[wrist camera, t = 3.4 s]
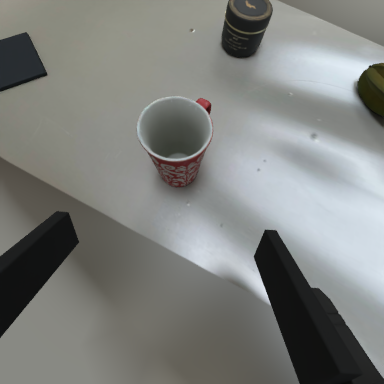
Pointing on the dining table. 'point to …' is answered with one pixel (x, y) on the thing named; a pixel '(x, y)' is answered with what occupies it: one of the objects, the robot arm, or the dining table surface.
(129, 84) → the dining table surface
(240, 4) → the jar
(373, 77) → the fruit
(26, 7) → the dining table surface
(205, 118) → the mug
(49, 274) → the robot arm
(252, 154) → the dining table surface
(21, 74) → the mat
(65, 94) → the dining table surface
